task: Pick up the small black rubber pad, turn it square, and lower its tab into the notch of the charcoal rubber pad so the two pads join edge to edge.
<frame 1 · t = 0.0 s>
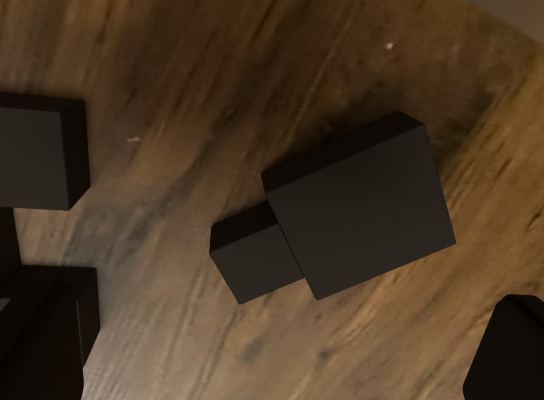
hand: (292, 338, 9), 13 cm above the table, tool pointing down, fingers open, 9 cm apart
black pad: (349, 196, 22), on the table
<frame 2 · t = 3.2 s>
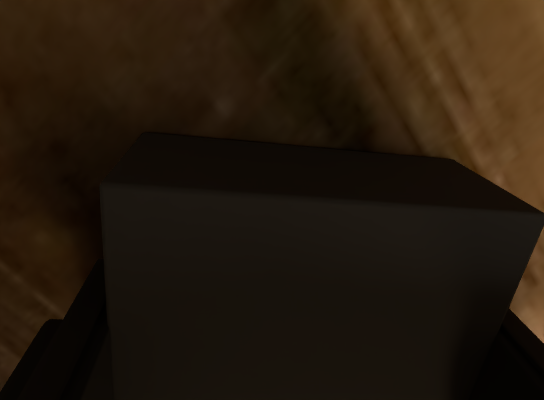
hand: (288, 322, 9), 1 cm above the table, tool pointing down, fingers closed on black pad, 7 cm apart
black pad: (283, 295, 10), on the table, touching gripper
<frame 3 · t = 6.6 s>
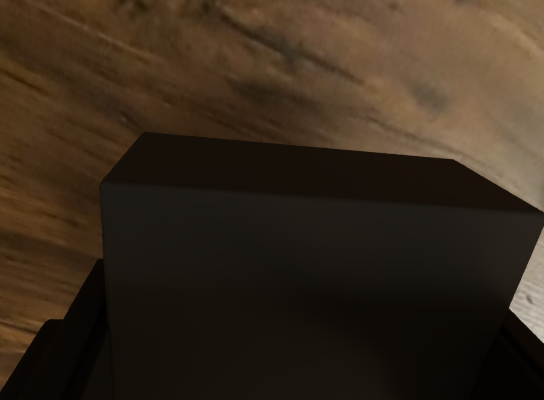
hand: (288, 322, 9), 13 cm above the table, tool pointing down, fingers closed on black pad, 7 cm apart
black pad: (283, 295, 10), point 12 cm above the table, touching gripper
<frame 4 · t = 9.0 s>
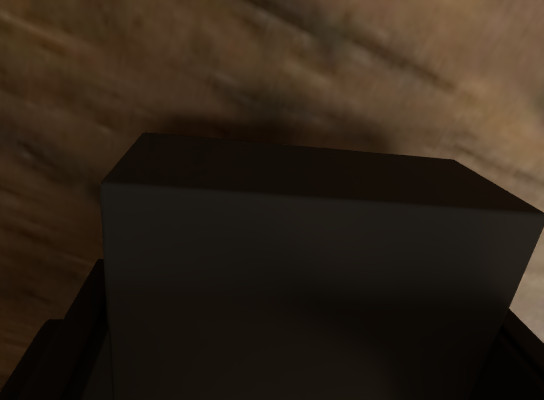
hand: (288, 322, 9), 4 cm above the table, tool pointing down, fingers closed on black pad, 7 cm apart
black pad: (283, 295, 10), point 3 cm above the table, touching gripper
when the fingers open (1 cm above the table, at t = 10.4 s): black pad stays where it is, on the table.
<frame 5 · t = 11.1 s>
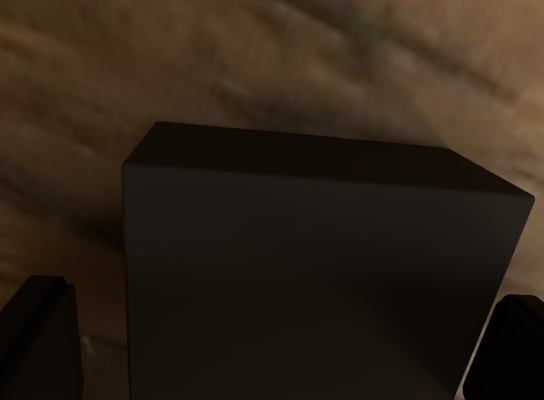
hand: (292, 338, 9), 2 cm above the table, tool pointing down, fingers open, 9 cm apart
black pad: (288, 279, 11), on the table
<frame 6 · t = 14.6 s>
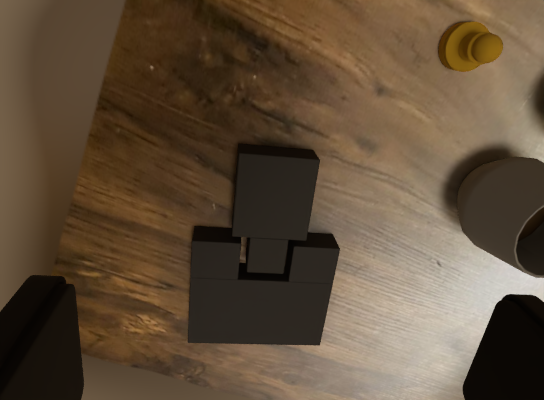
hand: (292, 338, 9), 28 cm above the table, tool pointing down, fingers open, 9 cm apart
base pad: (259, 280, 42), on the table
black pad: (271, 187, 38), on the table
cup: (484, 189, 40), on the table
chess piece: (458, 46, 34), on the table
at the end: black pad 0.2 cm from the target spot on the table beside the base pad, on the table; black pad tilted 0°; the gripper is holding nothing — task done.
